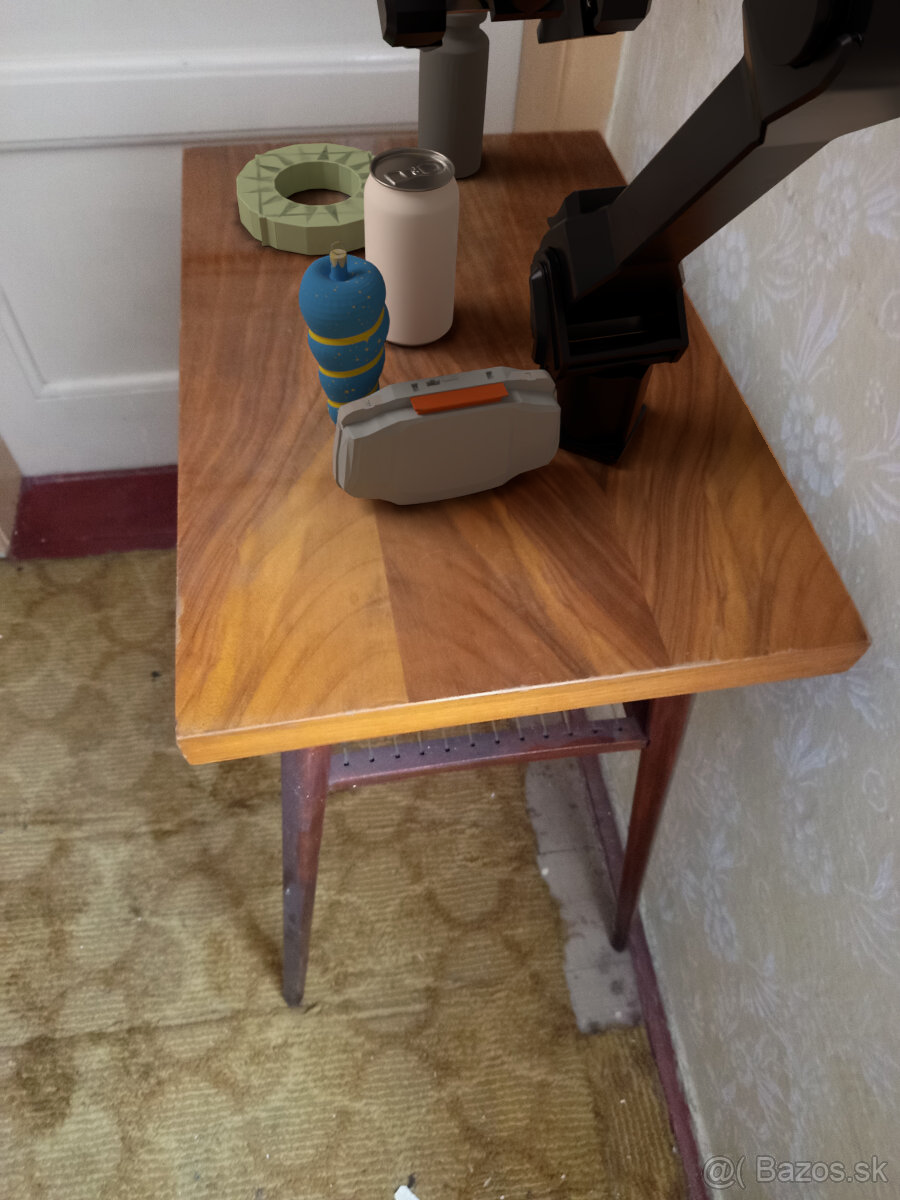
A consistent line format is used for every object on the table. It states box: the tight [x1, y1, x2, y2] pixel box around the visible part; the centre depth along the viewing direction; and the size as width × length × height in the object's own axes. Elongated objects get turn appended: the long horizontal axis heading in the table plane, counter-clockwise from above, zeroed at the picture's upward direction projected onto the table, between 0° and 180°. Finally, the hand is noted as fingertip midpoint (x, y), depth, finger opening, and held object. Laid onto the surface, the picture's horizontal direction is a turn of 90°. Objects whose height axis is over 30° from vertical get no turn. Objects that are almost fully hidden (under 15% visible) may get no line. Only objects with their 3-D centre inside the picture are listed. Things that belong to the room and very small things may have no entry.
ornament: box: [298, 242, 390, 426], centre depth 55 cm, size 5×5×15 cm
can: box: [364, 146, 461, 347], centre depth 65 cm, size 6×6×12 cm
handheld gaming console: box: [332, 365, 561, 506], centre depth 56 cm, size 14×3×8 cm, turn 107°
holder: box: [235, 142, 376, 256], centre depth 77 cm, size 13×13×2 cm
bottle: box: [417, 12, 490, 179], centre depth 78 cm, size 6×6×15 cm
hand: (482, 40), depth 70 cm, fingers open, 9 cm apart
